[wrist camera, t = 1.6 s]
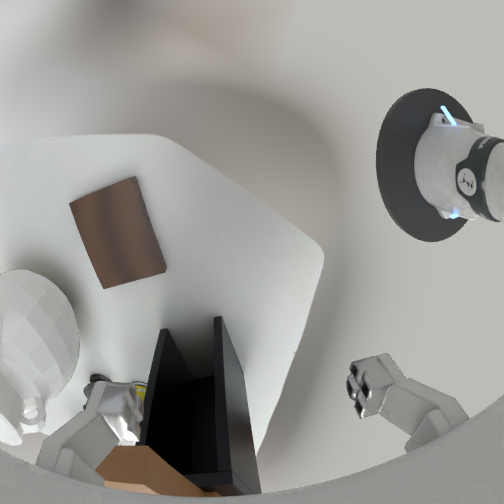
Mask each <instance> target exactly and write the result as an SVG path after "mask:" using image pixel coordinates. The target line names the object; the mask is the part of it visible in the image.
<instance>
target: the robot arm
mask: <svg viewBox="0 0 504 504" xmlns="http://www.w3.org/2000/svg"><path fill="white" fill-rule="evenodd" d="M441 109H442V110H443V112H444V113H445V114H446V115H444V114H441V113H433V114H432V116H431V119H430V123H429V126H428V128H427V130H426V131H425V132H424V133H423V135H422V136H421V138H420V140H419V142H418V144H417V147H416V151H415V157H414V172H415V179H416V183H417V186H418V188H419V191H420V193H421V194H422V196H423V197H424V199H425V200H426V201H427V202H428V203H430V204H431V205H433V206H434V207H435V208H436V209H437V211H438V213H439V215H440V216H441V217H442V218H445V219H448V218H453V219H454V218H456V217H458V216H459V217H462V218H465V219H469V220H475V219H476V218H478V217H479V216H482V217H483V218H485V219H487V220H490V221H494V222H500V221H501V222H504V140H503V139H500V138H497V137H491V136H489V135H487V134H485V133H484V126H483V124H478V123H473V124H471V123H469V122H466V121H463V120H460V119H457V118H454V117H451V115H450V114H449V112H448V111H447V109H446V108H445V106H441ZM442 121H443V122H442ZM350 371H351V373H350V375H349V376H348V377H347V381H346V386H347V392H348V395H349V397H350V398H351V399H353V400H354V401H356V402H355V405H354V407H355V409H356V411H357V413H358V416H359V418H360V419H361V418H365V417H368V416H372V415H375V414H378V413H379V414H380V415H381V416H382V417H384V418H385V419H387V420H389V421H390V422H391V423H393V424H394V425H396V426H397V427H399V428H400V429H402V430H403V431H405V432H406V433H408V434H409V435H411V438H410V439H409V441H408V442H407V443H406V445H405V450H406V452H407V454H404V455H402V456H400V457H398V458H395V459H393V460H390V461H388V462H386V463H383V464H380V465H378V466H375V467H372V468H369V469H367V470H364V471H361V472H358V473H355V474H351V475H348V476H345V477H341V478H338V479H334V480H331V481H327V482H323V483H319V484H314V485H310V486H305V487H300V488H295V489H290V490H284V491H277V492H270V493H263V494H253V495H242V496H225V497H183V496H167V495H156V494H147V493H139V492H132V491H126V490H120V489H115V488H110V487H105V486H104V483H105V479H104V478H103V477H102V476H101V475H100V474H99V473H98V472H96V471H95V469H96V468H97V467H98V465H99V464H100V463H101V462H102V461H103V460H104V459H105V458H106V456H107V455H108V454H109V453H110V452H111V451H112V449H113V448H114V447H115V446H116V445H117V444H118V443H119V440H124V441H136V442H139V440H140V434H141V429H142V428H141V427H140V425H139V423H140V422H141V421H142V420H143V417H144V405H143V401H142V399H141V397H140V396H138V395H137V394H136V391H137V389H136V387H135V385H134V384H131V383H118V382H105V381H97V382H96V383H95V385H94V387H93V390H92V393H91V395H90V398H89V400H88V403H87V406H86V409H85V411H81V412H80V413H78V414H77V415H76V416H75V417H73V418H72V419H71V420H69V421H68V422H67V423H66V424H64V425H63V426H62V427H61V428H59V429H58V430H57V431H55V432H54V433H53V434H52V435H50V436H49V437H48V438H46V439H45V440H44V442H43V444H42V447H41V450H40V453H39V455H38V458H37V461H36V465H34V464H31V463H29V462H26V461H24V460H22V459H20V458H17V457H15V456H13V455H11V454H9V453H7V452H4V451H3V450H1V449H0V504H504V395H503V396H501V397H500V398H499V399H497V400H496V401H495V402H493V403H492V404H491V405H489V406H488V407H487V408H485V409H484V410H482V411H481V412H479V413H478V414H476V415H475V416H474V417H472V418H471V419H470V418H469V417H468V415H467V414H466V413H465V411H464V410H463V408H462V407H461V406H460V404H459V403H458V402H457V400H456V399H455V398H453V397H451V396H449V395H446V394H444V393H442V392H440V391H437V390H435V389H433V388H430V387H428V386H426V385H424V384H421V383H419V382H417V381H415V380H413V379H410V378H409V379H406V377H405V376H404V374H403V373H402V372H401V370H400V369H399V367H398V366H397V365H396V363H395V362H394V360H393V359H392V358H391V356H390V355H389V354H388V353H384V354H381V355H377V356H373V357H369V358H365V359H361V360H357V361H354V362H352V363H351V365H350Z"/></svg>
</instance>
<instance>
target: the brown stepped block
mask: <svg viewBox="0 0 504 504" xmlns="http://www.w3.org/2000/svg"><path fill="white" fill-rule="evenodd" d="M95 471H96V472H98V473H99V474H100V475H101V476H102V477H103V478H104V479H105V483H104V486H105V487H110V488H115V489H120V490H126V491H132V492H139V493H147V494H156V495H167V496H183V497H223V496H221V495H220V494H218V493H217V492H204V491H203V490H201V489H200V488H198V487H197V486H196V485H194V484H193V483H192V482H190V481H189V480H188V479H186V478H185V477H184V476H182V475H181V474H180V473H179V472H177V471H176V470H175V469H174V468H173V467H171V466H170V465H169V464H168V463H167V462H165V461H164V460H163V459H162V458H161V457H160V456H159V455H157V454H156V453H155V452H154V451H153V450H152V449H151V448H150V447H149V446H117V445H116V446H115V447H114V448H113V449H112V451H111V452H110V453H109V454H108V455H107V456H106V458H105V459H104V460H103V461H102V462H101V463H100V464H99V465H98V467H97V468H96V469H95Z"/></svg>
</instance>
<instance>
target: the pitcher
mask: <svg viewBox="0 0 504 504" xmlns="http://www.w3.org/2000/svg"><path fill="white" fill-rule="evenodd" d="M79 348H80V333H79V330H78V326H77V322H76V318H75V313H74V311H73V309H72V307H71V305H70V303H69V301H68V299H67V297H66V295H65V294H64V293H63V292H62V291H61V290H60V289H59V288H58V286H57V285H55V284H54V283H53V282H51V281H50V280H48V279H47V278H46V277H44V276H41V275H39V274H36V273H33V272H31V271H28V270H25V269H23V270H13V271H8V272H4V273H2V274H1V275H0V441H2V442H4V443H6V444H9V445H12V446H17V445H20V444H22V438H23V434H27V433H34V432H39V431H40V430H41V429H42V428H43V427H44V426H45V420H46V412H45V406H44V405H46V404H48V403H49V402H50V401H51V400H52V399H54V398H55V397H56V396H57V395H58V394H59V393H60V392H61V391H62V389H63V388H64V387H65V386H66V384H67V383H68V382H69V381H70V379H71V378H72V375H73V372H74V370H75V367H76V365H77V362H78V358H79ZM34 409H37V411H38V415H37V416H36V417H35V418H34V419H27V418H24V413H27V412H29V411H32V410H34Z"/></svg>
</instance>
